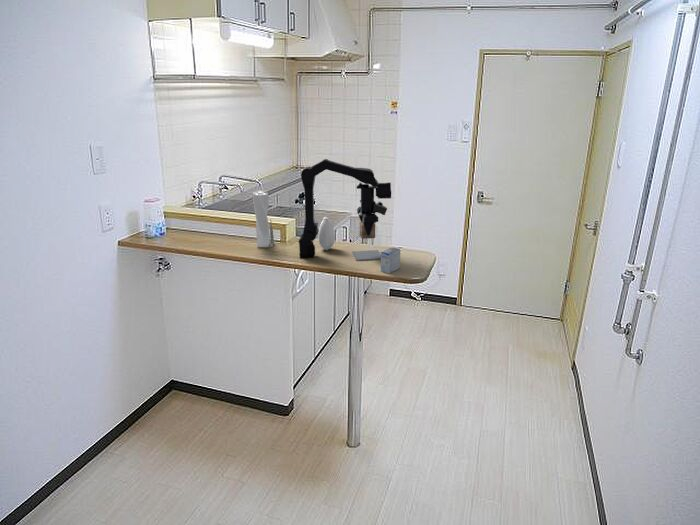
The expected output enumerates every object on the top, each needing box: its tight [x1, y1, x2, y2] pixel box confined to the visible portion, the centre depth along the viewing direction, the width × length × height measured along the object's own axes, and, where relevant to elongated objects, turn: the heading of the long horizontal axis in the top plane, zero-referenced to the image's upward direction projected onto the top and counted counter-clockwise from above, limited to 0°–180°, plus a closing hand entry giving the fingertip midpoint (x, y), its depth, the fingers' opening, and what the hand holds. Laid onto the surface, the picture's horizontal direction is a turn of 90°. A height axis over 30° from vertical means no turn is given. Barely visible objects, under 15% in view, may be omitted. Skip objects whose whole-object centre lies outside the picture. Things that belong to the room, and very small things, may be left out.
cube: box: [359, 221, 376, 240], centre depth 222 cm, size 6×6×6 cm
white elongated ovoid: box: [317, 212, 336, 251], centre depth 233 cm, size 8×8×18 cm
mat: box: [351, 249, 381, 262], centre depth 226 cm, size 12×12×1 cm
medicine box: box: [380, 246, 401, 274], centre depth 207 cm, size 8×4×9 cm, turn 141°
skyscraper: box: [252, 189, 275, 249], centre depth 237 cm, size 8×8×28 cm
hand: (367, 233), depth 222 cm, fingers closed on cube, 6 cm apart
